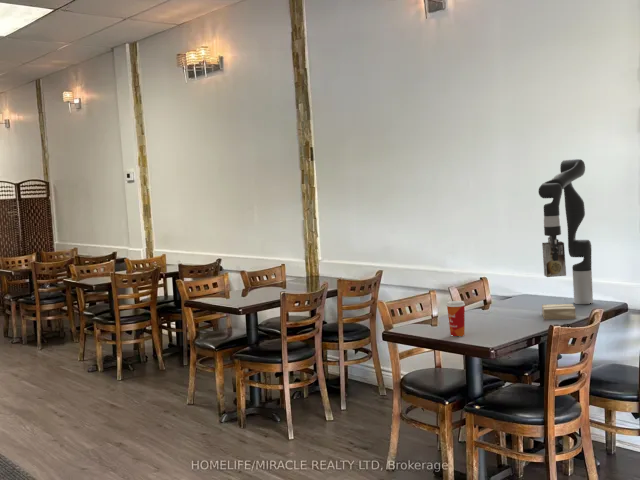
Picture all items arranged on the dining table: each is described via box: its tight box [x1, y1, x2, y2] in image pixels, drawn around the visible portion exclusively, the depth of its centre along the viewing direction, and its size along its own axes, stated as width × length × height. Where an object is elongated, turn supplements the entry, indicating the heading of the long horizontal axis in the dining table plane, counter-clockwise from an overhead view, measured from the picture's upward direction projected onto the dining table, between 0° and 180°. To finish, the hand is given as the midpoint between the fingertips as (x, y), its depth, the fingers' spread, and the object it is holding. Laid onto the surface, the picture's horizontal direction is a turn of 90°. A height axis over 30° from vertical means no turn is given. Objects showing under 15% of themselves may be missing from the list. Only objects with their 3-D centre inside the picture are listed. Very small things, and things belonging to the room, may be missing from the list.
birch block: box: [541, 303, 577, 320], centre depth 319 cm, size 13×14×5 cm
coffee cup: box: [446, 300, 466, 337], centre depth 293 cm, size 8×8×15 cm
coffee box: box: [541, 240, 567, 278], centre depth 317 cm, size 9×6×16 cm
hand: (554, 259), depth 317 cm, fingers closed on coffee box, 6 cm apart
